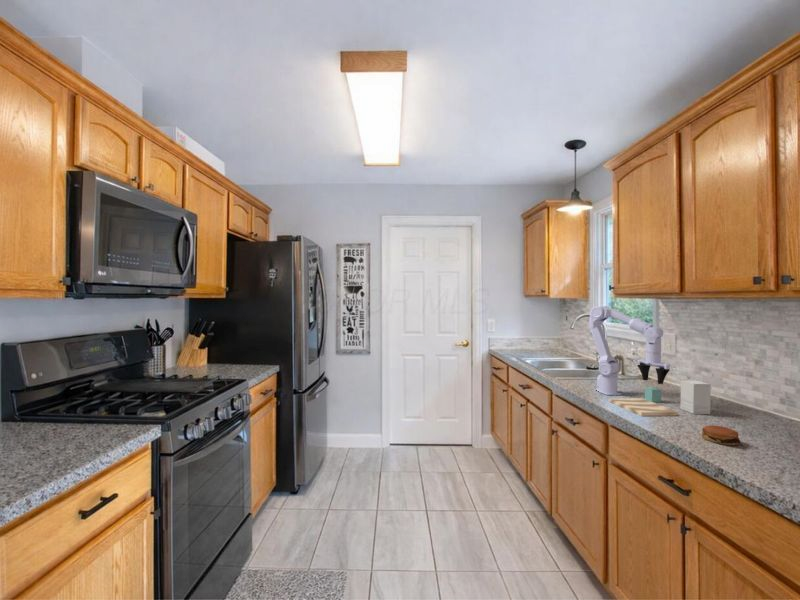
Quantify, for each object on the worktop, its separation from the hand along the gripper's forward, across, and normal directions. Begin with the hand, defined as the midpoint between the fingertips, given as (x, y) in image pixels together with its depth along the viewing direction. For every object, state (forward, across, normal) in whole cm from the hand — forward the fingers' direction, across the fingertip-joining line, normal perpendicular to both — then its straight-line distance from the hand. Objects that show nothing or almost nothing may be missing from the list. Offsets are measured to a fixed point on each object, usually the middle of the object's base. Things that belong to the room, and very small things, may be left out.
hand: (652, 381), depth 168 cm
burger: (+10, +42, -19) cm, 47 cm away
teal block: (+10, -2, +2) cm, 10 cm away
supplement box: (+10, +15, +6) cm, 19 cm away
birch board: (+9, +7, -13) cm, 17 cm away
